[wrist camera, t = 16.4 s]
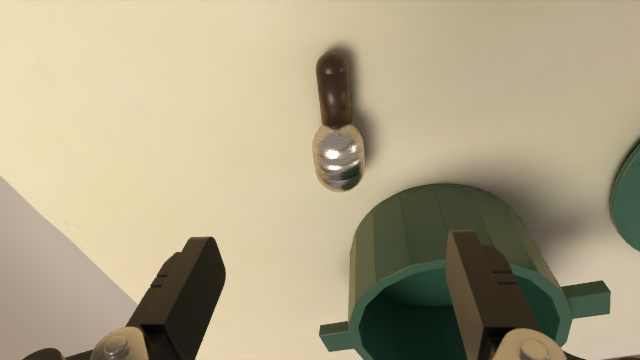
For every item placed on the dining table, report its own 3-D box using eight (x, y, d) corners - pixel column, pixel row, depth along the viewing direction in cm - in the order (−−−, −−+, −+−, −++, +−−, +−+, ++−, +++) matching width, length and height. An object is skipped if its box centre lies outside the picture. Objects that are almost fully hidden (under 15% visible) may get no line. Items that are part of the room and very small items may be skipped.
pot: (300, 215, 33) (284, 289, 26) (553, 152, 28) (621, 224, 20) (354, 320, 41) (353, 400, 34) (562, 288, 35) (613, 375, 28)
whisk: (304, 50, 25) (296, 65, 22) (359, 45, 25) (359, 60, 21) (320, 176, 31) (315, 202, 28) (365, 174, 30) (366, 201, 27)
